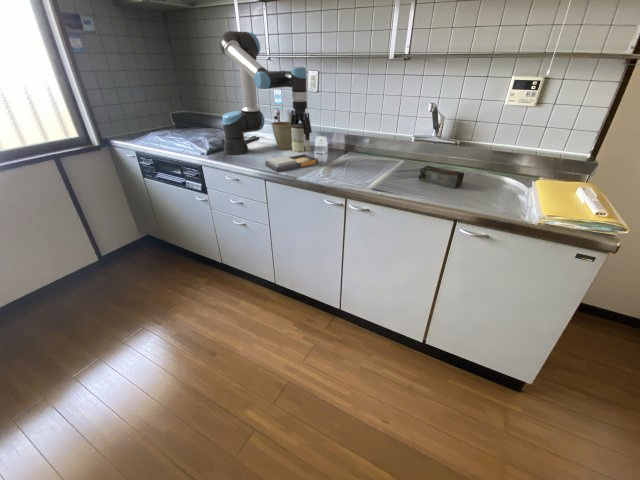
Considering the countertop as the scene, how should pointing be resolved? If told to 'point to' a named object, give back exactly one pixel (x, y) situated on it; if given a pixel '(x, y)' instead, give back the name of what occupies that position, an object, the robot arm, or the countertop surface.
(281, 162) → the grey compartment tray
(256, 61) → the robot arm
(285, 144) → the plant pot
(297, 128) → the coffee can
